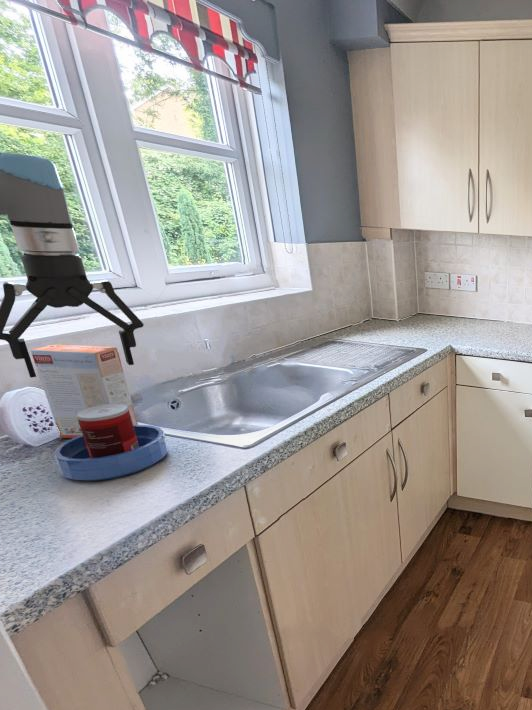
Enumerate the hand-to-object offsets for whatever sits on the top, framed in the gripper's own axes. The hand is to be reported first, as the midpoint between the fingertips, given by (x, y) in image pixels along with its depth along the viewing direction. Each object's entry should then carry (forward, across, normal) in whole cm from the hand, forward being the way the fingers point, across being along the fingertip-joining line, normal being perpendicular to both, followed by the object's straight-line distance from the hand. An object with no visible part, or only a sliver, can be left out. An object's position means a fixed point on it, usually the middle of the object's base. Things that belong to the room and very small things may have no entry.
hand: (84, 369), depth 87 cm
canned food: (+20, +1, 0) cm, 20 cm away
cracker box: (+21, +1, +18) cm, 28 cm away
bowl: (+20, +1, 0) cm, 20 cm away
